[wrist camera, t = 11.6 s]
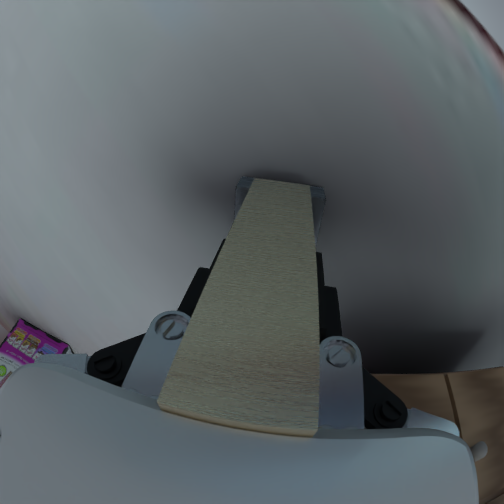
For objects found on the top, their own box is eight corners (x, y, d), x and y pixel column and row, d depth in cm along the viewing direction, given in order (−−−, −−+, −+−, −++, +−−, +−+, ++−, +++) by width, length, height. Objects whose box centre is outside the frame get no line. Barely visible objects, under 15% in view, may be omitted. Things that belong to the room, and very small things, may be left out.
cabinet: (497, 323, 16) (545, 479, 3) (420, 408, 25) (429, 523, 11) (334, 311, 18) (328, 570, 4) (292, 408, 26) (274, 544, 13)
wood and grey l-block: (324, 177, 13) (367, 430, 3) (280, 368, 22) (261, 499, 12) (242, 166, 13) (111, 385, 4) (233, 360, 22) (200, 489, 12)
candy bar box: (32, 338, 31) (-16, 412, 18) (19, 316, 28) (-35, 395, 15) (82, 365, 31) (34, 456, 17) (70, 344, 28) (14, 443, 14)
